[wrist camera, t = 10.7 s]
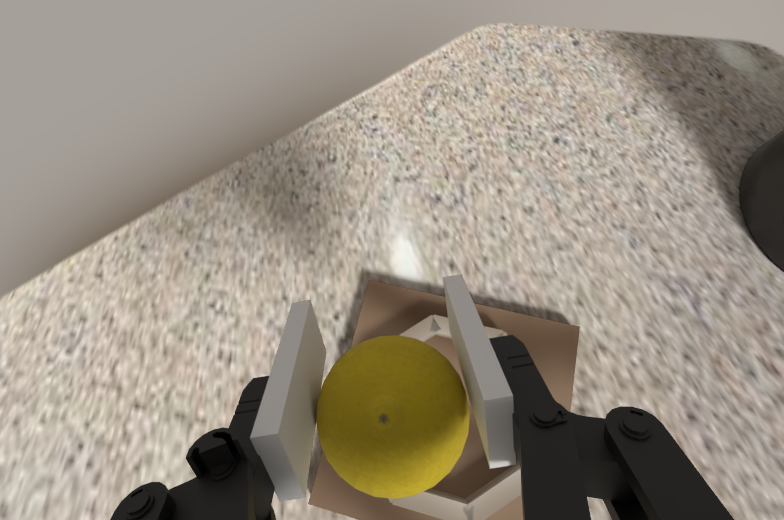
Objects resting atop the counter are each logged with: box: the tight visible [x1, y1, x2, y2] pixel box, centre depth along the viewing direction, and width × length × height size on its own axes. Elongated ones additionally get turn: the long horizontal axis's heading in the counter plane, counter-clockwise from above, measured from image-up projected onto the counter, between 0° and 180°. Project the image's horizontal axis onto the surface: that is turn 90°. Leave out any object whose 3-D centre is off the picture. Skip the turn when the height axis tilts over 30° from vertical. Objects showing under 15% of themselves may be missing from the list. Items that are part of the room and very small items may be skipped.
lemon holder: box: [308, 280, 580, 520], centre depth 28 cm, size 16×16×3 cm
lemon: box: [316, 335, 470, 499], centre depth 15 cm, size 6×6×8 cm
